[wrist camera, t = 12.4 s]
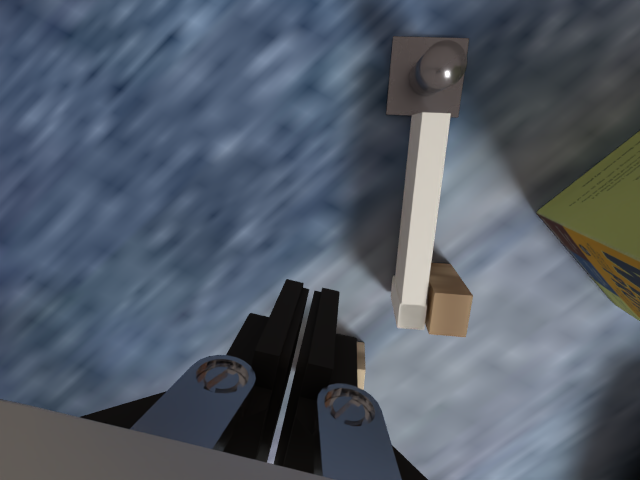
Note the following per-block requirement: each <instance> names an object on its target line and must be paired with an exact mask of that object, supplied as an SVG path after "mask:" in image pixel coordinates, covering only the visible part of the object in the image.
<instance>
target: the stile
mask: <svg viewBox="0 0 640 480" xmlns="http://www.w3.org/2000/svg"><path fill="white" fill-rule="evenodd" d="M472 298H473V295H472V294H471V292H470V291H469V289H468V288H467V287H466V285H465V284H464V282H463V281H462V279H461V278H460V277H459V275H458V274H457V272H456V271H455V269H454V268H453V267H452V265H451V264H444V263H431V268H430V276H429V284H428V291H427V299H426V304H427V311H426V318H425V324H426V327H427V330H428V333H429V334H434V335H446V336H458V337H466V333H467V327H468V322H469V316H470V310H471V304H472Z"/></svg>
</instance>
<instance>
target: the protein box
mask: <svg viewBox="0 0 640 480" xmlns="http://www.w3.org/2000/svg"><path fill="white" fill-rule="evenodd" d="M537 215H538V216H539V217H540V218H541V219H542V220H543V221H544V223H545V224H546V225H547V226H548V227H549V228H550V230H551V231H552V232H553V233H554V234H555V235H556V237H557V238H558V239H559V240H560V241H561V242H562V244H563V245H564V246H565V247H566V249H567V250H568V251H569V252H570V253H571V254H572V256H573V257H574V258H575V259H576V260H577V262H578V263H579V264H580V265H581V266H582V267H583V269H584V270H585V271H586V272H587V273H588V274H589V276H590V277H591V278H592V279H593V280H594V281H595V282H596V284H597V285H598V286H599V287H600V288H601V289H602V291H603V292H604V293H605V294H606V295H607V296H608V297H609V299H610V300H611V301H612V302H613V303H614V304H615V305H616V306H618V307H619V308H621V309H622V310H624V311H625V312H627V313H628V314H630V315H631V316H633V317H634V318H636V319H637V320H639V321H640V131H639V132H637V133H636V134H635V135H634V136H632V137H631V138H630V139H629V140H627V141H626V142H625V143H623V144H622V145H621V146H620V147H618V148H617V149H616V150H615V151H613V152H612V153H611V154H610V155H608V156H607V157H606V158H604V159H603V160H602V161H600V162H599V163H598V164H597V165H595V166H594V167H593V168H591V169H590V170H589V171H588V172H586V173H585V174H584V175H583V176H581V177H580V178H579V179H577V180H576V181H575V182H574V183H572V184H571V185H570V186H569V187H567V188H566V189H565V190H563V191H562V192H561V193H560V194H558V195H557V196H556V197H554V198H553V199H552V200H551V201H549V202H548V203H547V204H545V205H544V206H543V207H542V208H540V209H539V210H538V211H537Z"/></svg>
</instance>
